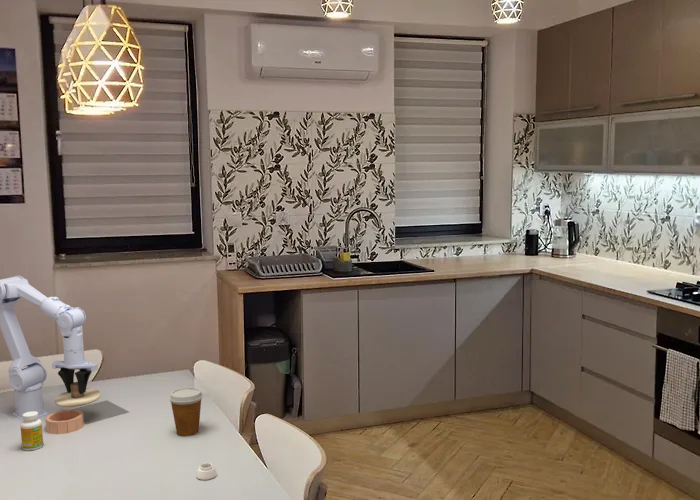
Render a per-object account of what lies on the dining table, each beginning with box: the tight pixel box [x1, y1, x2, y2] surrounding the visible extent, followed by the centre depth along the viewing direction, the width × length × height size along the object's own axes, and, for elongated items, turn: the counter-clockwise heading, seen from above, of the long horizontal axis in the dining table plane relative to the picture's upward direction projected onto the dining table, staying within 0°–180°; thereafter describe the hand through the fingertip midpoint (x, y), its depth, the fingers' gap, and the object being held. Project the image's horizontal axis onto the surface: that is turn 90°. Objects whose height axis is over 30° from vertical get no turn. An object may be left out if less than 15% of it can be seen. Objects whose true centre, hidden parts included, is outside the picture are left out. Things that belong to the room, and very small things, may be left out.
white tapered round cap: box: [195, 462, 218, 481], centre depth 179 cm, size 5×3×5 cm
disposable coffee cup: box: [168, 387, 204, 437], centre depth 207 cm, size 10×10×12 cm
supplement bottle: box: [20, 411, 44, 451], centre depth 198 cm, size 5×5×10 cm
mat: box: [70, 399, 130, 425], centre depth 225 cm, size 16×14×1 cm
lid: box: [54, 381, 101, 408], centre depth 217 cm, size 13×13×5 cm
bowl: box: [45, 409, 85, 435], centre depth 212 cm, size 10×10×4 cm
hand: (76, 392), depth 216 cm, fingers closed on lid, 4 cm apart
